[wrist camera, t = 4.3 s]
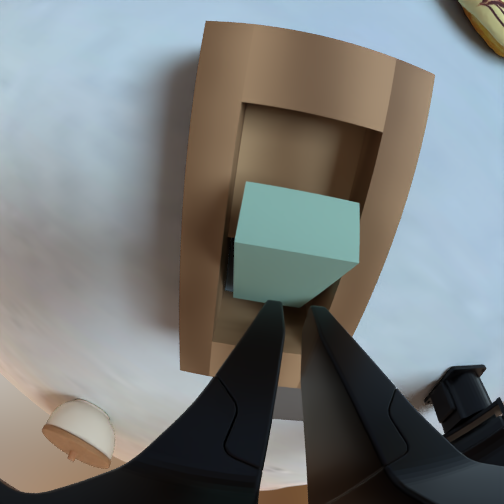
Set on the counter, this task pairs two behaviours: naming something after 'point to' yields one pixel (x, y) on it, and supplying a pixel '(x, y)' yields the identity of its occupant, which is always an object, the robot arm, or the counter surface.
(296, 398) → the rubber mat
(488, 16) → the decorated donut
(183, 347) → the pocket board
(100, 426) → the lidded jar
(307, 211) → the teal slab
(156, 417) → the counter surface
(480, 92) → the counter surface
